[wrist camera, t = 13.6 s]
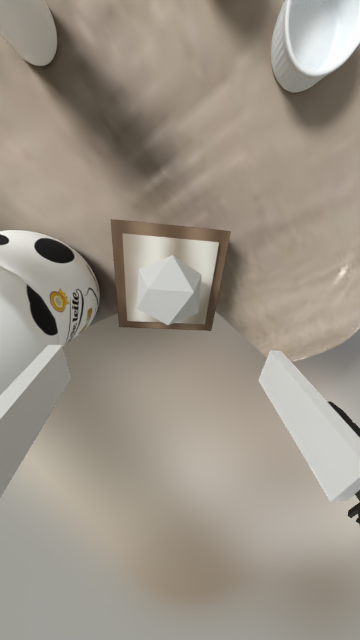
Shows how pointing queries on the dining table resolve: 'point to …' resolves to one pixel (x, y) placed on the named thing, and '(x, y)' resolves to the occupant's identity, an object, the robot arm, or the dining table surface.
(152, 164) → the dining table surface
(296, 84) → the ramekin
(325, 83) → the dining table surface
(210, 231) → the plinth
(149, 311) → the die
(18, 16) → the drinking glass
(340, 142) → the dining table surface
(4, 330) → the milk container
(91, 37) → the dining table surface
